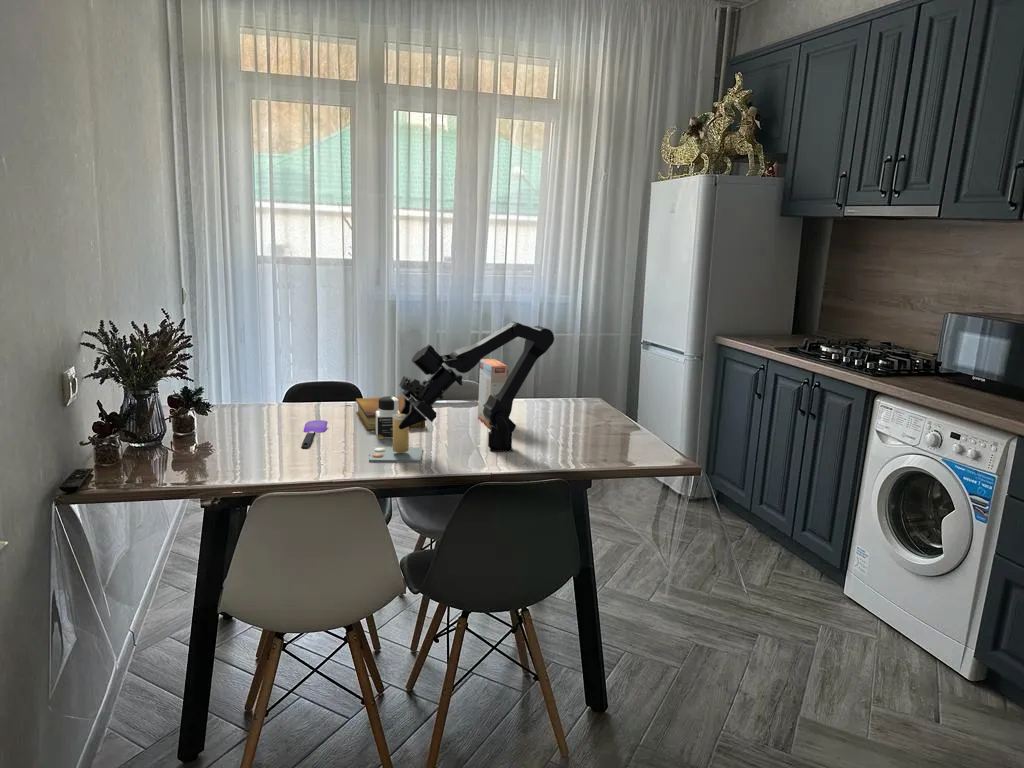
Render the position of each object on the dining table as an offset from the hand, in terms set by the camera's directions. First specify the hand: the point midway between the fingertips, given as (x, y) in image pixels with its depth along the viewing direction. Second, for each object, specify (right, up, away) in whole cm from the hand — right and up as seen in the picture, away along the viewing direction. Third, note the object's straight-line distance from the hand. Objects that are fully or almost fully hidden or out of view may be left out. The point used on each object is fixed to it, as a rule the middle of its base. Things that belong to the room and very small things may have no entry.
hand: (397, 426), depth 195 cm
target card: (-1, -8, +2) cm, 9 cm away
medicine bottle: (-6, -4, +21) cm, 23 cm away
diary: (-9, -1, +39) cm, 40 cm away
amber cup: (0, -7, +2) cm, 7 cm away
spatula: (-29, -5, +16) cm, 33 cm away
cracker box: (+25, -2, +41) cm, 48 cm away
